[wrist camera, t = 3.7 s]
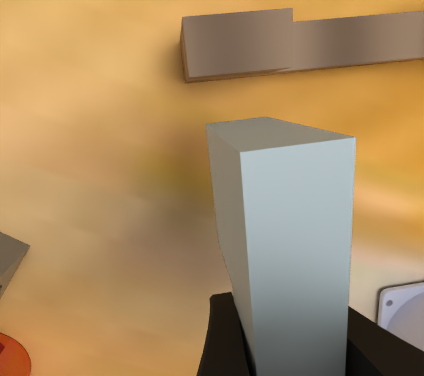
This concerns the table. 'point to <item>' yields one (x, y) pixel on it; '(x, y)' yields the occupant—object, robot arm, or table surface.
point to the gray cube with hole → (10, 258)
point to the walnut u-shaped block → (294, 43)
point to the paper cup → (13, 358)
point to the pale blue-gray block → (286, 240)
